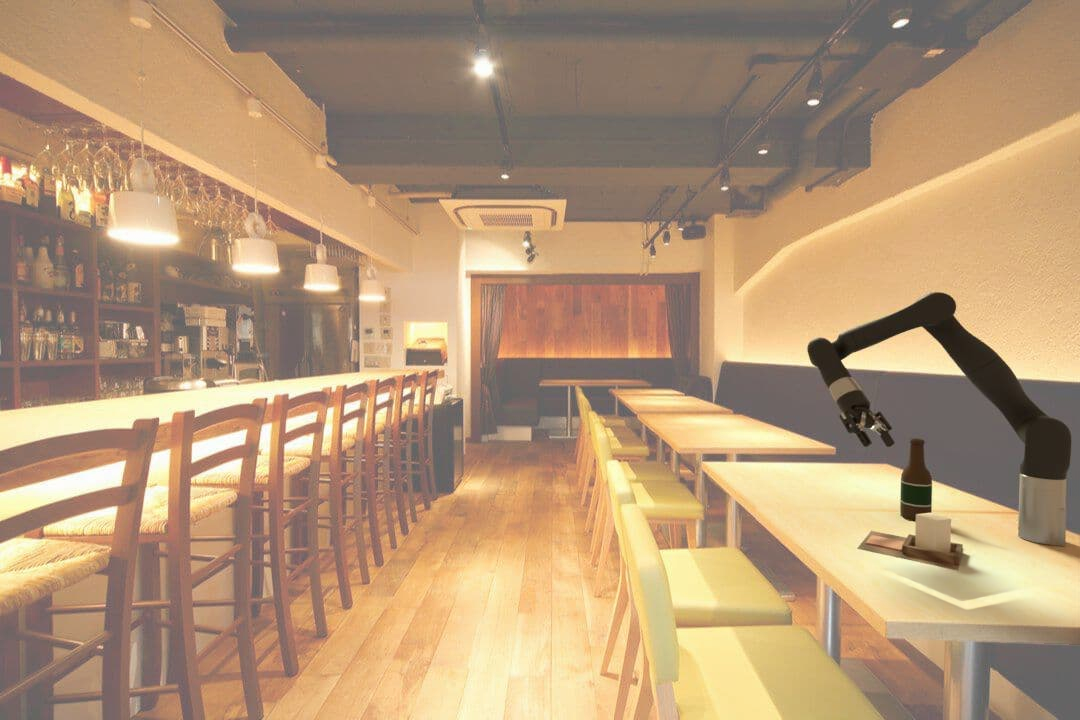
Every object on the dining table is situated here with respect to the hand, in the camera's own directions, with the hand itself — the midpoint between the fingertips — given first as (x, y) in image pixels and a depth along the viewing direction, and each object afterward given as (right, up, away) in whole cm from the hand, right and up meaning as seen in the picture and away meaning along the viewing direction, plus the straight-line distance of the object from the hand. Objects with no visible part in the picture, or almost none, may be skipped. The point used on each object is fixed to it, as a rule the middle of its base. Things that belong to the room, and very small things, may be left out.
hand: (880, 445), depth 148 cm
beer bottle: (+22, -25, +18) cm, 37 cm away
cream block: (+4, -24, -15) cm, 28 cm away
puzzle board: (0, -25, -12) cm, 28 cm away
